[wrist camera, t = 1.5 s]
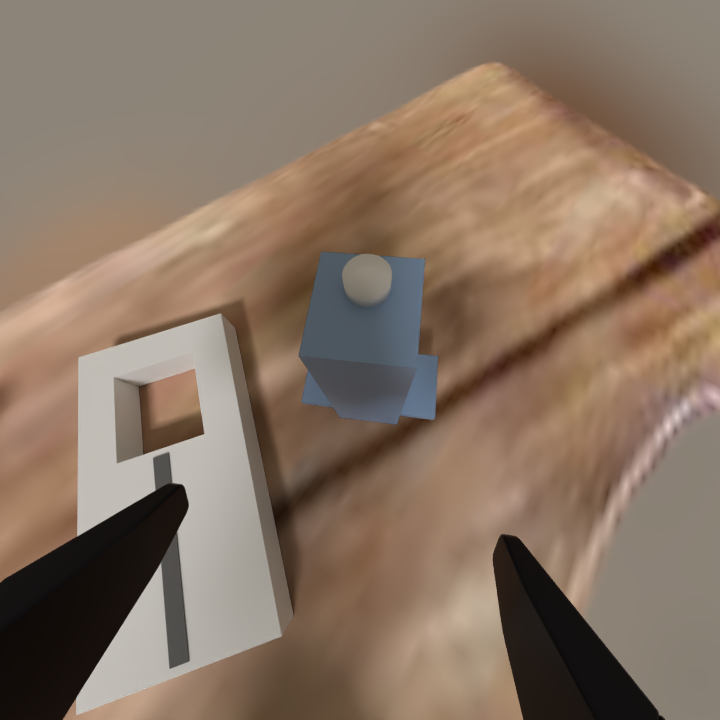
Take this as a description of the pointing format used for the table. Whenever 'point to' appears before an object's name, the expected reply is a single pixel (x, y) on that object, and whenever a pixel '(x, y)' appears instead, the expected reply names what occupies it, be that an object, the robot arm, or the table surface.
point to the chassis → (204, 516)
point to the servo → (368, 339)
